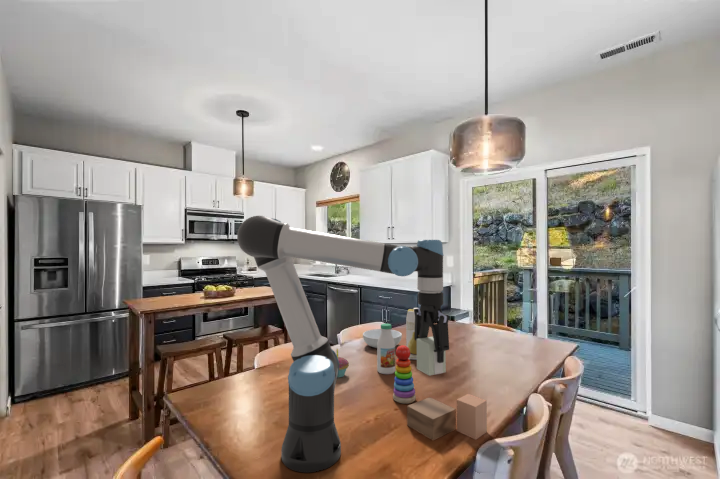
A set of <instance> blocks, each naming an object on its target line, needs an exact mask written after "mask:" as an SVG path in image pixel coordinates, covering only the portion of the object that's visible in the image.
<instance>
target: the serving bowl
mask: <svg viewBox="0 0 720 479" xmlns="http://www.w3.org/2000/svg"><path fill="white" fill-rule="evenodd" d="M391 334H392V337H393V339H394V342H395V347H396V346H397V345H398V344H400V342H401V340H402V337H403V334H402V332H400V331H398V330H395V329H392V330H391ZM380 335H381V328H374V329H369V330H366V331H364V332H363V333H362V338H363V341H364V342H365V344H366V345H368V346H369V347H372V348H376V349H377V344H378V339H379V337H380Z"/></svg>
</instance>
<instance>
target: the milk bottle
mask: <svg viewBox="0 0 720 479" xmlns="http://www.w3.org/2000/svg"><path fill="white" fill-rule="evenodd" d="M380 329H381V335H380V337H379V339H378V344H377V348H376V349H377V350H376V355H377V356H376V361H377V362H376V363H377V364H376V371H377V372H378V374H381V375H382V374H383V375H392V374H395V372H396V346H395V342H394V339H393V337H392V334H391V330H393V328H392V324H391V323H381V324H380Z"/></svg>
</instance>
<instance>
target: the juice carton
mask: <svg viewBox="0 0 720 479" xmlns="http://www.w3.org/2000/svg"><path fill="white" fill-rule="evenodd" d="M418 308H419V307H413V308H409V309H408V310H407V313H406V317H405V318H406V319H405V320H406V321H405V322H406V323H405V327H406V328H405V330H406V331H405V336H406V338H405V342H406V343H405V344H406V345H405V346H407V347H408V348H409V350H410V357H409V358H408V359H409V360H413V361H414V360H415V361H417V340H416V341H415V339H414V334H415V313H414V309H418ZM418 336H419V335H418Z"/></svg>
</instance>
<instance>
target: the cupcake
mask: <svg viewBox="0 0 720 479" xmlns="http://www.w3.org/2000/svg"><path fill="white" fill-rule="evenodd" d="M336 355H337V357H338V361H339V372H338V375H337V378H342V377H344V376H345V375H346V371H347V369H348V368H349V365H350V364H349V361H348V360H347V359H346V358H344V357H340V356H339V349H338V348H336Z"/></svg>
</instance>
